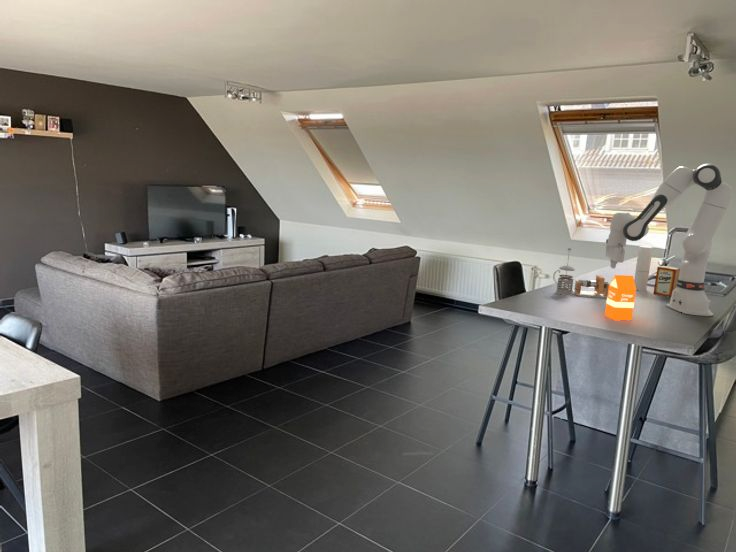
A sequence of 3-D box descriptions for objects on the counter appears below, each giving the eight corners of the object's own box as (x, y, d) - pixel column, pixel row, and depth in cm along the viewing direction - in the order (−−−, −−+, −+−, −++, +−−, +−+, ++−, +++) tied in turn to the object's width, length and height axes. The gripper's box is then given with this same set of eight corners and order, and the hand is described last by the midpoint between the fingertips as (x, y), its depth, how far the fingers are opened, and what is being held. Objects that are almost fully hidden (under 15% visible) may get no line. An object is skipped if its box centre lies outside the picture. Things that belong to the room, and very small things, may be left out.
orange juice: (604, 315, 252) (610, 273, 248) (622, 316, 252) (628, 274, 249) (613, 320, 244) (619, 276, 240) (631, 321, 245) (638, 277, 241)
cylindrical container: (643, 288, 323) (649, 246, 318) (648, 290, 316) (655, 248, 311) (631, 287, 323) (637, 245, 319) (635, 289, 316) (642, 247, 312)
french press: (570, 296, 289) (576, 250, 284) (548, 292, 296) (554, 247, 291) (575, 293, 297) (581, 248, 292) (554, 290, 304) (560, 245, 299)
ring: (602, 294, 291) (604, 278, 289) (598, 293, 291) (600, 278, 289) (598, 290, 299) (600, 275, 297) (594, 290, 299) (596, 275, 298)
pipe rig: (613, 298, 289) (615, 284, 288) (576, 295, 292) (578, 281, 290) (607, 294, 300) (609, 280, 298) (571, 291, 302) (573, 277, 301)
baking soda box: (675, 296, 304) (680, 267, 301) (671, 297, 300) (675, 268, 297) (657, 292, 311) (662, 265, 308) (653, 293, 307) (657, 266, 304)
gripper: (629, 245, 278) (625, 272, 281) (617, 240, 298) (613, 265, 301) (616, 244, 279) (612, 271, 282) (605, 239, 299) (601, 264, 302)
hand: (612, 267), depth 292 cm, fingers closed
